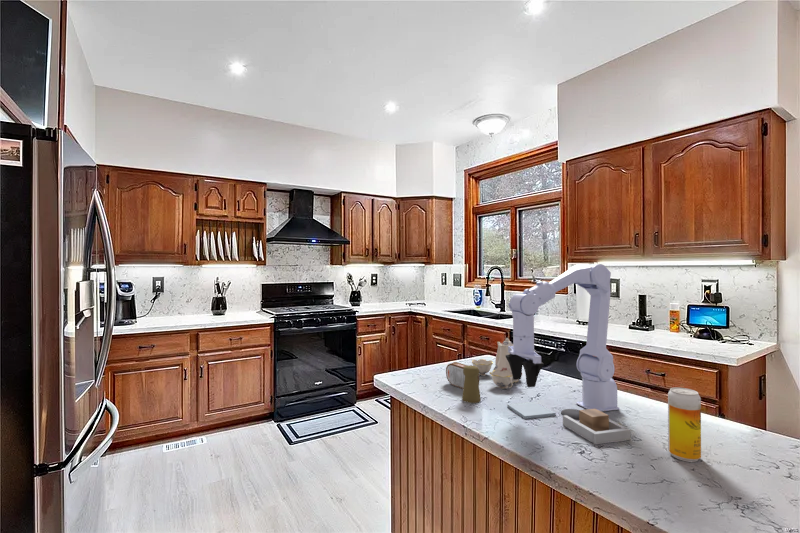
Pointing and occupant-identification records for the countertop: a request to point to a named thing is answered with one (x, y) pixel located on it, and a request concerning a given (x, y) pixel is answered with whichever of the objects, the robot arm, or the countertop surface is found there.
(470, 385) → the olive waisted block
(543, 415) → the board
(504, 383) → the chinaware
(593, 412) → the walnut cube
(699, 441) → the beer can
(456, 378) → the tin
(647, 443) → the countertop surface
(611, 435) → the grey flat u-shaped piece
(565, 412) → the hole mat
